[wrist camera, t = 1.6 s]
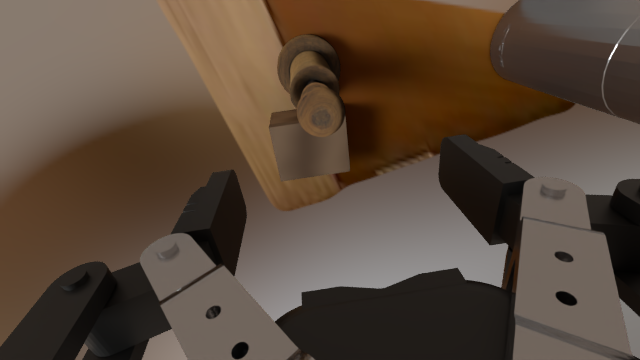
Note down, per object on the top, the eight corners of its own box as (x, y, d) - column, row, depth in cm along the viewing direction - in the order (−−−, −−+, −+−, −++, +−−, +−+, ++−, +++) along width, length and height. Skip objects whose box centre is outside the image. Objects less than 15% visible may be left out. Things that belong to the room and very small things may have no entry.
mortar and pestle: (278, 95, 34) (266, 168, 19) (277, 32, 31) (262, 57, 15) (335, 97, 35) (370, 169, 19) (340, 36, 32) (387, 62, 16)
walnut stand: (338, 103, 35) (345, 116, 31) (343, 152, 38) (350, 170, 34) (271, 113, 35) (268, 127, 31) (282, 161, 38) (281, 181, 34)
